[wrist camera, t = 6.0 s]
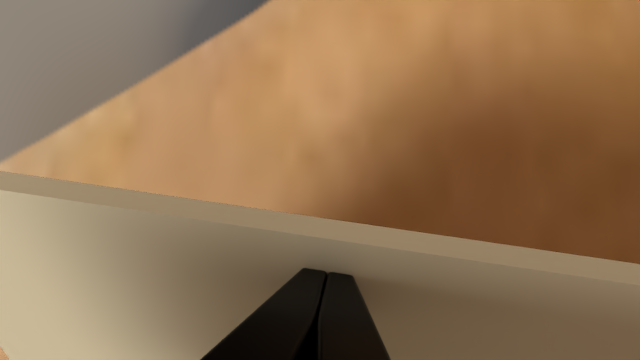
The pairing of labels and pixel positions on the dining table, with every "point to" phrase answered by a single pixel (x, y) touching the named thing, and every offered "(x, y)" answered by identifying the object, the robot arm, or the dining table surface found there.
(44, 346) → the flap
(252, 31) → the dining table surface
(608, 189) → the dining table surface
